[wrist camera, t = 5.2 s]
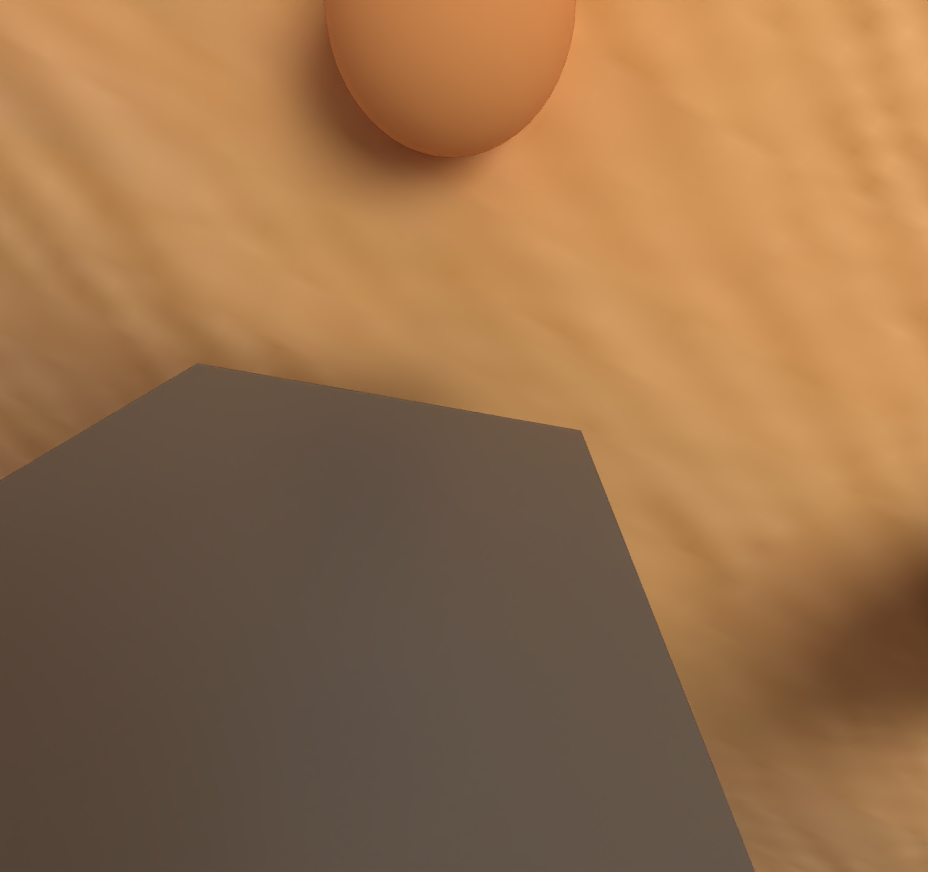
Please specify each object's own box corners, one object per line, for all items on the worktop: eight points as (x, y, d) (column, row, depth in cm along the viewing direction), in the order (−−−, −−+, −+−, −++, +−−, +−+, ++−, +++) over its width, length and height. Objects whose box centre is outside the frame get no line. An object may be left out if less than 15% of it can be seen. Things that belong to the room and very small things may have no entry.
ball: (533, 178, 14) (555, 173, 10) (347, 143, 14) (283, 121, 10) (581, -60, 12) (639, -208, 8) (365, -107, 12) (293, -286, 8)
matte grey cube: (503, 695, 14) (526, 1369, 6) (208, 649, 14) (-183, 1291, 6) (580, 430, 11) (853, 1117, 3) (197, 363, 10) (-730, 913, 2)
